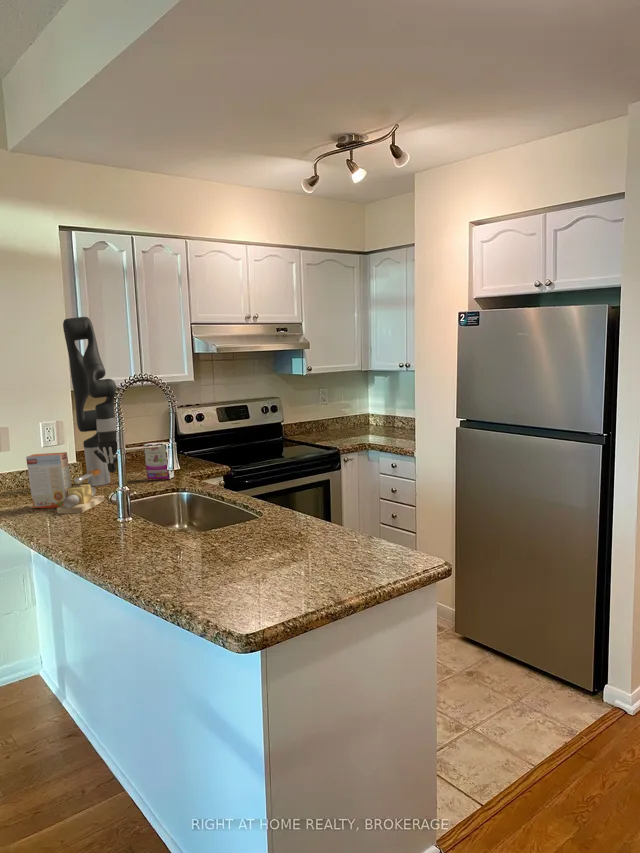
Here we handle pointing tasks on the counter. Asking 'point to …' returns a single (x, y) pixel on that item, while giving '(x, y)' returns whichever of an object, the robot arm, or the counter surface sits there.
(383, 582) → the counter surface
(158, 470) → the candy bar box
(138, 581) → the counter surface
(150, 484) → the counter surface
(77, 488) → the valve on pipe
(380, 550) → the counter surface
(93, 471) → the valve lever
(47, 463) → the cracker box
